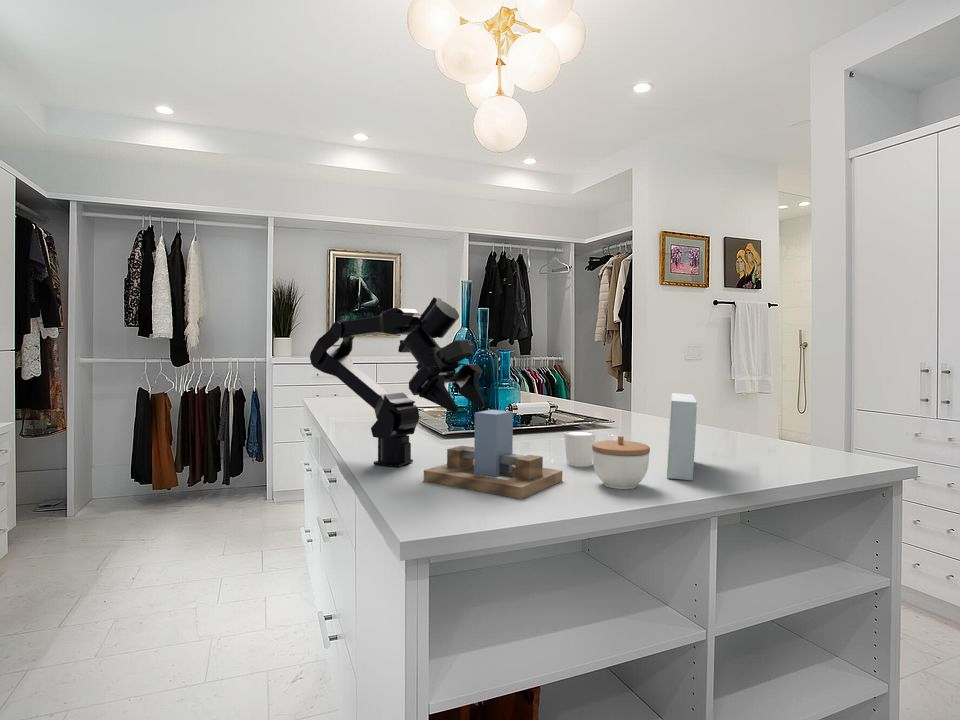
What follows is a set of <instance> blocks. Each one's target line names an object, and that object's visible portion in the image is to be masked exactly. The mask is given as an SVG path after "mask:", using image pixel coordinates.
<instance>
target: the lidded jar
mask: <svg viewBox="0 0 960 720" xmlns="http://www.w3.org/2000/svg"><path fill="white" fill-rule="evenodd" d="M592 450H593V460H592V466H593V470H594V472H595V474H596V476H597V477H598V479H599V480H600V481H601V482H602V483H603V486H605V487H607V488H609V489H610V488H611V489H616V490H632V489H635V488H637V485H639V484H640V483H642V481H643V479H644V478H645V477H646V475H647V472H648V468H649V462H650V451H651V447H650V446H649V445H648V444H646V443H642V442H639V441H638V442H636V441H631V440H630V441H629V440H624V436H621V435H620V436H617V439H616V440H615V439H613V440H610V439H609V440H598V441H595V442H594V443H593V444H592Z"/></svg>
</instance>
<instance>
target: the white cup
mask: <svg viewBox="0 0 960 720" xmlns="http://www.w3.org/2000/svg"><path fill="white" fill-rule="evenodd" d="M595 439H596V433H594V432H591V431H583V430H581V431H580V430H572V431H565V432H564V442H565V443H564V446H565V456H566V457H565V459H566V464H567V466H571V467H577V468H578V467H579V468H585V467H591V466H593V450H592V444H593V443H595V442H596V440H595Z"/></svg>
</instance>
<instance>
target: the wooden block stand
mask: <svg viewBox="0 0 960 720" xmlns="http://www.w3.org/2000/svg"><path fill="white" fill-rule="evenodd" d="M543 462H544V461H543V456H542V455H534V454H527V455H526V454H525V455H523V454H516V453H512V454H511V453H507V454H504V455H500V461H499V463H502V464H509V465H512V472H511V473H505V472H499V476H506V477H510V478H507V479H503V478H499V477H497V478H494V477H488V476H482V475H476V474H474V446H468V445H459V446H458V445H457V446H454V447H451V448H447V450H446V464H442V465H439V466H438V465H437V466H434V467H430V468H427V469H424V470H423V481H424V482H430V483H434V484H440V485H446V486H451V487H456V488H460V489H461V488H462V489H467V490H473V491H478V492H483V493H489V494H494V495H498V496H504V497H510V498H516V499H520V500H522V499H524V498H526V497H529V496H531V495H533V494H536V493H538V492H541V491H542V490H545V489H547V488H550V487H551V486H553V485H556V484H558V483H560V482H562V481H563V470H561V469H553V468H547V467H543V466H544V465H543Z"/></svg>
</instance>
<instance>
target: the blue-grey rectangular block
mask: <svg viewBox="0 0 960 720" xmlns="http://www.w3.org/2000/svg"><path fill="white" fill-rule="evenodd" d="M513 417H514V412H513V411H512V410H511V411H510V410H501V409H500V410H499V409H487V410H480V411H477V412H474V443H473V444H474V446H473V447H474V475H480V476H486V477H492V478H499V477H500V475H499V472H505V473H511V472H512V465H509V464H502V463H499V461H500V455H504V454H507V453H511V454H513V442H514V441H513V439H514V438H513V435H514V432H513V430H514V418H513Z"/></svg>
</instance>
